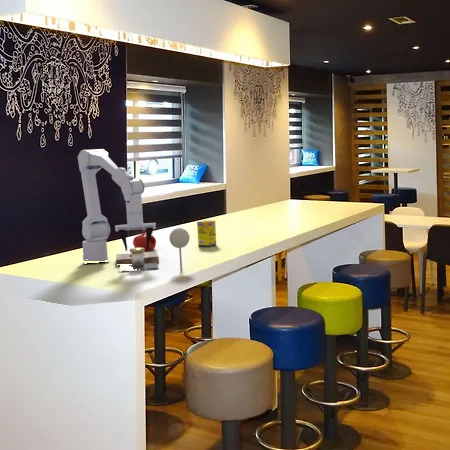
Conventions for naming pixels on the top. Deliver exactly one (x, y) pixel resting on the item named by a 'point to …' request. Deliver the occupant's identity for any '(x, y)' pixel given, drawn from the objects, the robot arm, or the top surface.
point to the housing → (127, 258)
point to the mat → (147, 266)
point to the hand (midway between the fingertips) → (136, 249)
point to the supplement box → (206, 233)
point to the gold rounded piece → (137, 257)
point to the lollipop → (179, 240)
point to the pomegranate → (144, 241)
